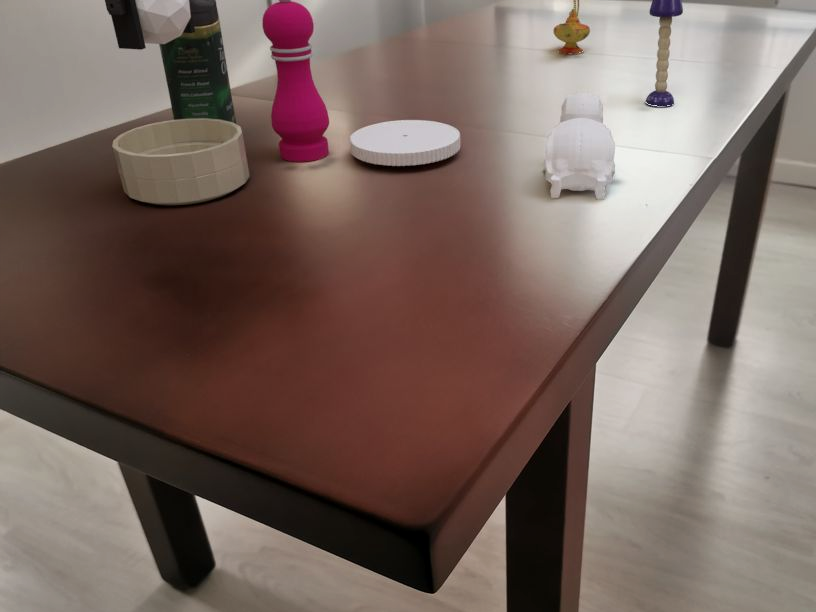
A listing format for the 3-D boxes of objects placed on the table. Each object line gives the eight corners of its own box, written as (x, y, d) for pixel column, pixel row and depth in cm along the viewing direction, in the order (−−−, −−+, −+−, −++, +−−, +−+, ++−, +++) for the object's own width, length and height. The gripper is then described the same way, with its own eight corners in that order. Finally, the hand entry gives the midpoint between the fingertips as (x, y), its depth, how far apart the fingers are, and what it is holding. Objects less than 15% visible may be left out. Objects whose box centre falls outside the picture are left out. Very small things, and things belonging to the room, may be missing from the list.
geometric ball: (166, 64, 89) (181, -5, 89) (192, 47, 82) (207, -28, 83) (94, 35, 84) (109, -38, 85) (115, 15, 78) (132, -64, 78)
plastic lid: (331, 166, 100) (329, 147, 99) (381, 134, 111) (380, 116, 110) (434, 179, 96) (433, 158, 94) (476, 144, 107) (476, 125, 105)
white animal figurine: (614, 221, 92) (615, 135, 100) (620, 163, 85) (621, 76, 94) (538, 218, 93) (546, 134, 101) (539, 160, 86) (547, 75, 95)
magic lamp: (542, 63, 145) (544, -3, 140) (559, 42, 160) (561, -18, 154) (580, 65, 144) (583, -2, 138) (594, 44, 158) (597, -17, 153)
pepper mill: (295, 167, 100) (271, -6, 90) (266, 154, 105) (240, -13, 94) (343, 154, 104) (326, -14, 94) (313, 142, 109) (294, -20, 98)
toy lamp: (652, 109, 119) (665, -14, 110) (634, 102, 123) (645, -18, 114) (679, 105, 121) (693, -16, 112) (661, 98, 124) (673, -20, 115)
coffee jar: (234, 144, 109) (208, -5, 99) (174, 147, 108) (141, -2, 98) (241, 123, 117) (218, -16, 107) (185, 127, 116) (157, -13, 106)
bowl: (99, 201, 92) (84, 150, 89) (173, 161, 103) (163, 114, 100) (206, 214, 88) (195, 161, 85) (271, 171, 99) (264, 122, 96)
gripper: (53, -234, 64) (123, 63, 76) (204, -219, 81) (242, 23, 93) (-21, -230, 66) (59, 59, 78) (141, -216, 83) (186, 20, 95)
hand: (158, 39), depth 85 cm, fingers closed on geometric ball, 8 cm apart
